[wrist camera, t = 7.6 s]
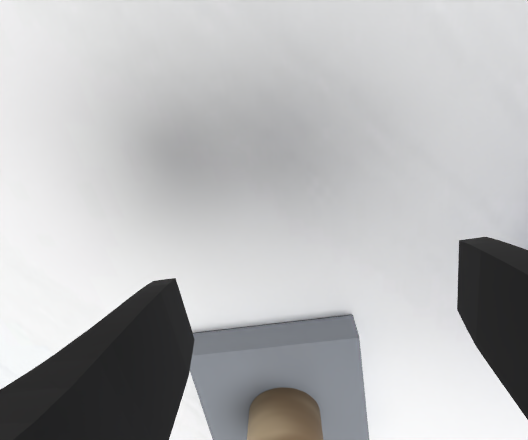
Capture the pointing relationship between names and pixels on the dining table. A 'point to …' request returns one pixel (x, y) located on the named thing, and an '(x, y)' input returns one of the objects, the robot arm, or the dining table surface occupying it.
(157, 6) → the dining table surface
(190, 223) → the dining table surface
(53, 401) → the robot arm
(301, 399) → the oak cylinder
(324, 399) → the plate
